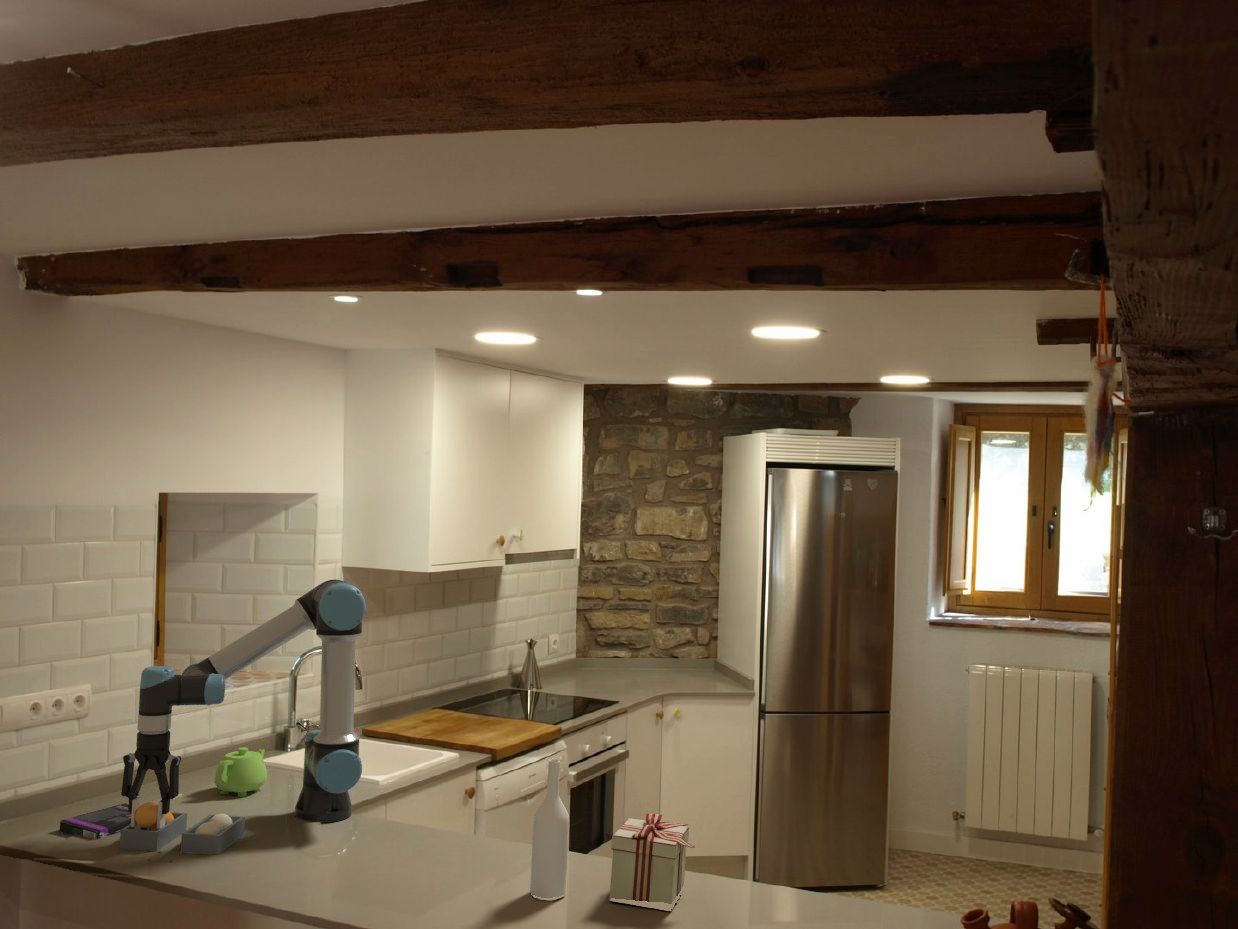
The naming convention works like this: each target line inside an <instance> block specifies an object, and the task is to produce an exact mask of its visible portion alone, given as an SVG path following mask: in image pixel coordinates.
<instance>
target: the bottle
mask: <svg viewBox="0 0 1238 929" xmlns="http://www.w3.org/2000/svg"><path fill="white" fill-rule="evenodd" d="M547 767H548V768H547V785H546V794H545V795H546V796H545V797H544V798H543V801H542V802H541V803H540V805H539V806H538V807H537V809H536V811H535V813H534V816H533V824H532V825H533V826H532V828H533V829H532V844H531V847H532V848H531V864H530V865H531V868H530V889H529V894H530V893H531V894H532V895H535V896H537V897H541V898H553V897H559V896H562V895H564V894H565V893H567V876H568V875H567V874H568V858H569V857H568V856H569V855H568V853H569V837H570V834H569V833H570V815H569V812H568V811H567V808H566V806H565V805H564V803H563V801H562V799H561V797H560V772H561V761H560V760H559V759H554V758H553V759H550V760H548V765H547Z"/></svg>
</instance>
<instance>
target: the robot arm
mask: <svg viewBox="0 0 1238 929" xmlns="http://www.w3.org/2000/svg"><path fill="white" fill-rule="evenodd" d="M366 611H367V605H366V600H365V597H364V595H363V593H362V592H361V591H360V589H359V588H357V587H356V586H354V585H353V584H351V583H348V582H346V581H345V580H341V579H329V580H325V581H323V582H321V583H319V584H317V586H315V587H313V588H312V589H311V590H309V591H307V592H306V593H305V594H303V595H301V596H300V597H298V598H297V599H295V601H294V603H293V605H292V606H290V607H289V608H287V609H285V610H284V611H282V612H281V613H279V614H277V615H276V616H274V617H272V618H271V619H269V620H267V621H266V622H264V623H261V625H259V626H257V627H256V628H254V629H253V630H251V631H249V632H247V633H246V634H244V635H243V636H241V637H239V638H238V639H235V640H234V641H232V642H231V643H229V644H228V645H226V646H224V647H222V648H221V649H220V650H217V651H216V652H214V653H213V654H211V655H209V656H208V657H206V658H204V659H203V660H200V661H199V662H198V663H192V664H190V665H188V666H187V667H186V668H184V670H183V671H182V672H181V674H176V673H175V668H174V667H172V666H167V665H165V666H164V665H154V666H147V667H145V668H144V669H143V670H141V671H142V672H141V675H140V683H139V697H138V698H139V699H138V700H139V701H138V715H137V717H138V719H137V726H136V728H137V731H138V732H137V733H136V750H135V752H134V753H132V752H129V753H128V754H126V755H125V754H124V756H123V757H122V759H123V764H124V768H123V775H122V783H121V784H122V785H121V796H122V797H126V798H128V804H129V809H128V810H129V812H132V815H131V827H135V826H137V825H138V824H137V822H136V820H135V813H136V811H137V809H138V808H139V807H140V806H141V805H142V804H141V802H142V797H141V796H140V790H141V788H142V785H143V782H144V780H145V776H146V774H147V772H148V771H149V770H151V771H153V772H154V774H155V775H156V781H157V784H158V788H159V792H160V793H159V794H160V797H161V800H158V803H157V804H158V816H157V829H160V828H162V827H163V826H165V818H166V814H167V813H169V812H170V807H171V800H173V799H175V798H177V797H178V796H179V791H180V790H179V789H180V788H179V786H180V785H179V784H180V783H179V782H180V780H179V779H180V778H179V777H180V776H179V775H180V774H179V772H180V765H181V761H182V756H180V755H178V756H175V755H173V754H171V751H170V745H171V731H170V729H171V727H172V715H173V714H172V713H173V706H175V707H177V706H179V707H180V706H206V705H207V706H212V705H219V704H222V703H223V702H224V700H225V695H226V681H227V680H228V679H229V678H231V677H232V676H234V675H236V674H237V673H239V672H240V671H243V670H244V669H245V668H247V667H249V666H251V665H252V664H253V663H255V662H257V661H258V660H261V659H262V658H264V657H265V656H267V655H268V654H270V653H272V652H274V651H275V650H277V649H278V648H280V647H281V646H283V645H285V644H286V643H288V642H290V641H291V640H293V639H295V638H297V637H298V636H300V635H301V634H303V633H304V632H306V631H308V630H312V631H316V632H315V634H316V636H317V637H318V638H319V640H320V641H321V669H320V672H321V673H320V704H319V707H320V708H319V709H320V710H319V712H320V713H319V717H320V718H319V729H315V730H310V731H308V732H307V733H306V734H305V741H304V757H303V776H302V778H303V779H302V788H301V791H300V793H299V796H298V797H297V798H298V799H297V801H296V803H295V807H294V813H293V814H294V817H295V818H296V819H300V820H302V821H303V820H304V821H307V822H308V821H309V822H320V823H321V824H323V823H324V824H325V823H334V822H338V821H343V820H346V819H348V818H349V817H351V816H352V814H353V813H352V812H353V805H352V801H351V798H350V797H351V796H350V795H349V790H351V789H352V788H354V787H355V786H356V784H358V783H359V781H360V779H361V776H362V775H363V774H362V773H363V764H362V760H361V757H360V735H359V734H357V732H355V729H354V726H355V725H354V723H355V719H354V718H355V717H354V716H355V681H356V679H355V677H356V676H355V675H356V672H355V671H356V641H357V639H358V638H359V637H360V636H361V635H362V633H363V620H364V617H365V615H366ZM136 761H137V763H138V767H137V770H136V774H135V778H134V780H133V777H134V769H135V762H136ZM167 762H168V765H169V776H168V777H169V779H168V777H167V766H166V763H167ZM168 780H169V781H168Z"/></svg>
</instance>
